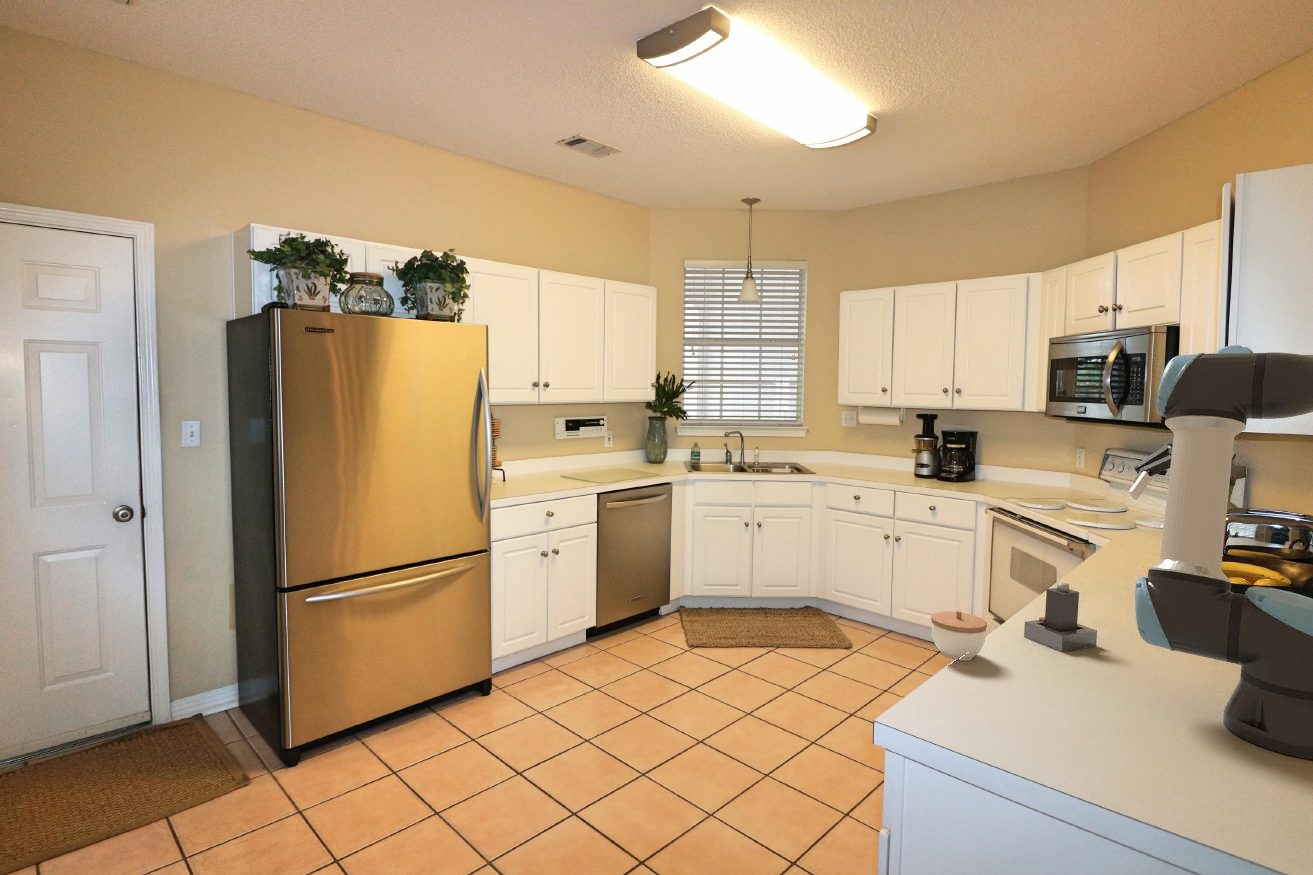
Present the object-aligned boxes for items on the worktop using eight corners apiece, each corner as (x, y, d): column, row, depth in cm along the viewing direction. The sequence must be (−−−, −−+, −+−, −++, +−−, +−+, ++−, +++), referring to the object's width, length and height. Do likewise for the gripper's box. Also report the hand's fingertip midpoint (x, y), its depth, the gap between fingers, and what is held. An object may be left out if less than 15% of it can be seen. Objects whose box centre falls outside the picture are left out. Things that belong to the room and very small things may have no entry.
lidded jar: (926, 658, 143) (928, 614, 142) (932, 642, 152) (934, 600, 152) (984, 669, 138) (986, 623, 137) (986, 651, 148) (988, 608, 147)
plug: (1076, 640, 153) (1079, 585, 152) (1059, 643, 151) (1063, 587, 151) (1060, 634, 157) (1063, 580, 156) (1043, 636, 155) (1046, 582, 154)
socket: (1096, 645, 152) (1097, 627, 151) (1061, 651, 148) (1062, 633, 148) (1057, 631, 160) (1058, 614, 160) (1023, 636, 157) (1024, 619, 157)
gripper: (1283, 448, 147) (1234, 521, 143) (1161, 440, 170) (1115, 502, 166) (1270, 423, 145) (1219, 497, 140) (1148, 418, 168) (1101, 481, 164)
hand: (1163, 500), depth 153 cm, fingers open, 13 cm apart
